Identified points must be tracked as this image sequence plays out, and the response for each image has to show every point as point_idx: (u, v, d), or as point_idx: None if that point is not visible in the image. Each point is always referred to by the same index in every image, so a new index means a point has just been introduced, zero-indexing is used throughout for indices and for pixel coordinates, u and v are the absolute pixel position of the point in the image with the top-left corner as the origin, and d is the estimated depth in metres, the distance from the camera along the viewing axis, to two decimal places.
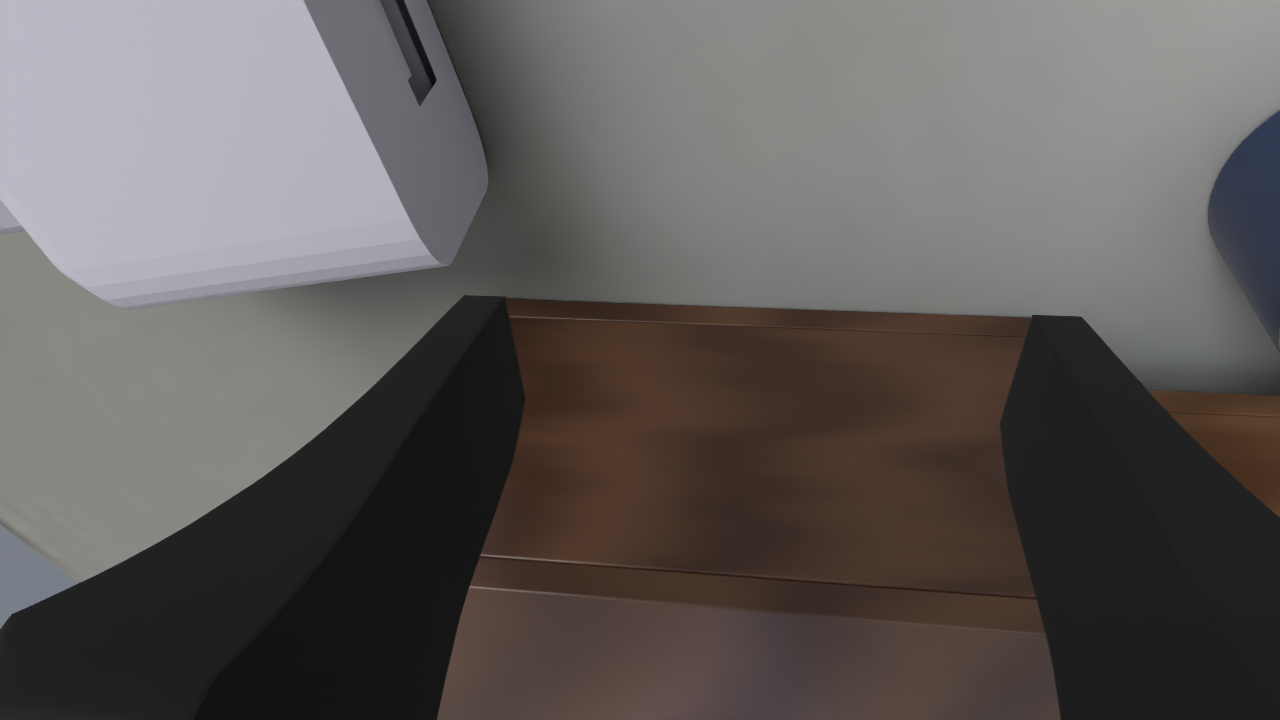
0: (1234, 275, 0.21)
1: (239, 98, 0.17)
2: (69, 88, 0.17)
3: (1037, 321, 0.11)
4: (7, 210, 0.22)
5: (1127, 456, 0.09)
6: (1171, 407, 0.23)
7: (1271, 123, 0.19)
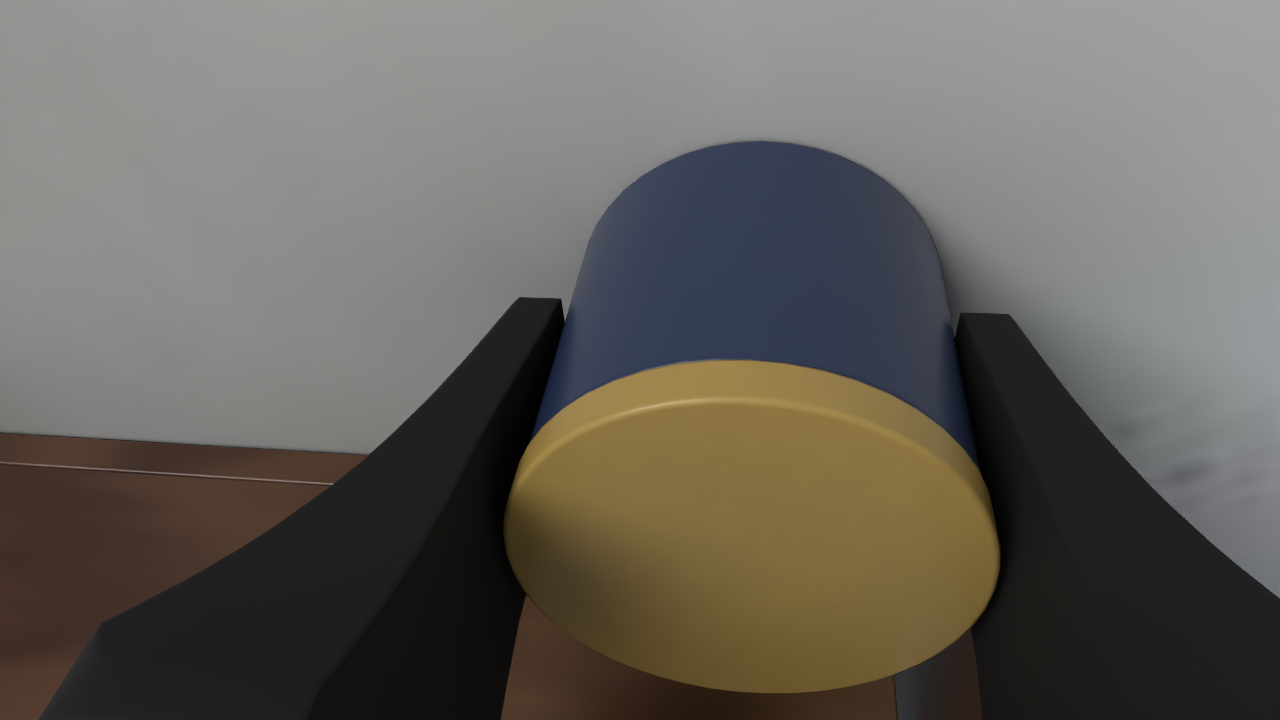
0: None
1: None
2: None
3: (964, 317, 0.11)
4: None
5: (1034, 451, 0.09)
6: None
7: (605, 215, 0.13)
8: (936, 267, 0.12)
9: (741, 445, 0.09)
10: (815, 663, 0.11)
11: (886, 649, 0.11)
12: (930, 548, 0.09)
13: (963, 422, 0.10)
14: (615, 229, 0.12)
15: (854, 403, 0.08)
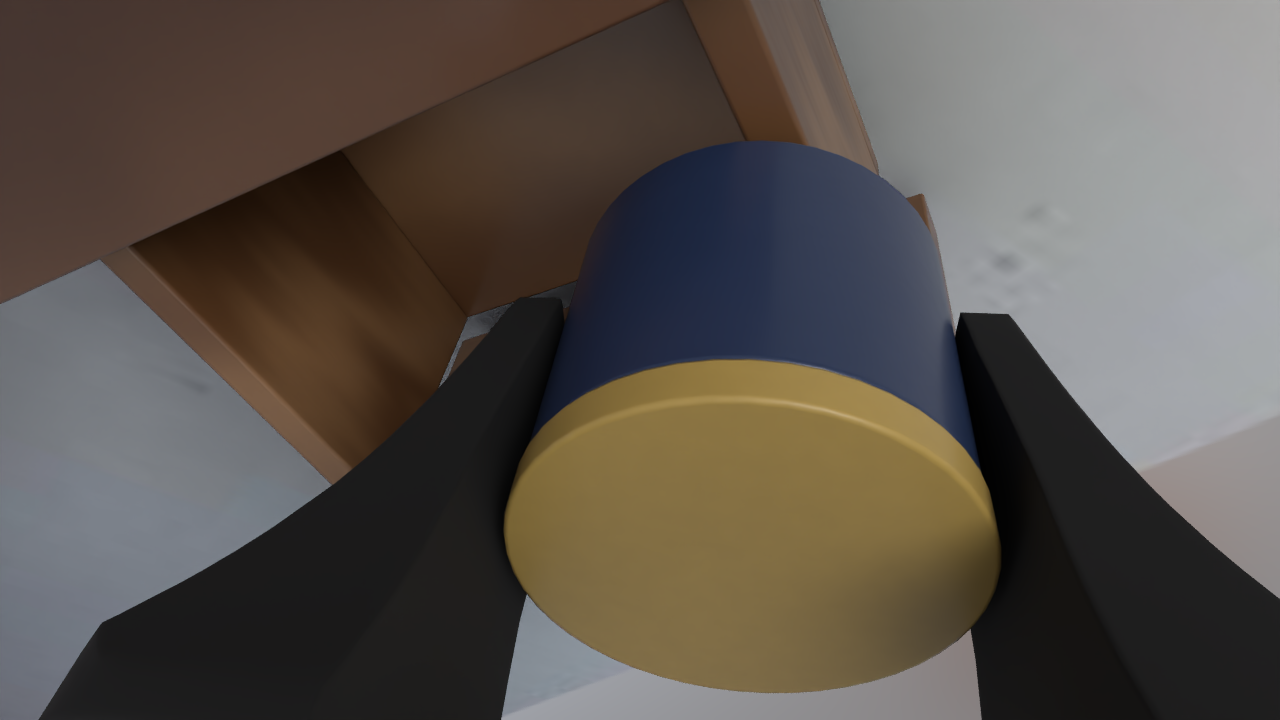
0: None
1: None
2: None
3: (964, 317, 0.12)
4: None
5: (1034, 451, 0.09)
6: None
7: (606, 215, 0.13)
8: (937, 267, 0.12)
9: (742, 444, 0.09)
10: (815, 663, 0.11)
11: (887, 649, 0.11)
12: (931, 548, 0.09)
13: (963, 421, 0.10)
14: (616, 229, 0.12)
15: (855, 402, 0.08)
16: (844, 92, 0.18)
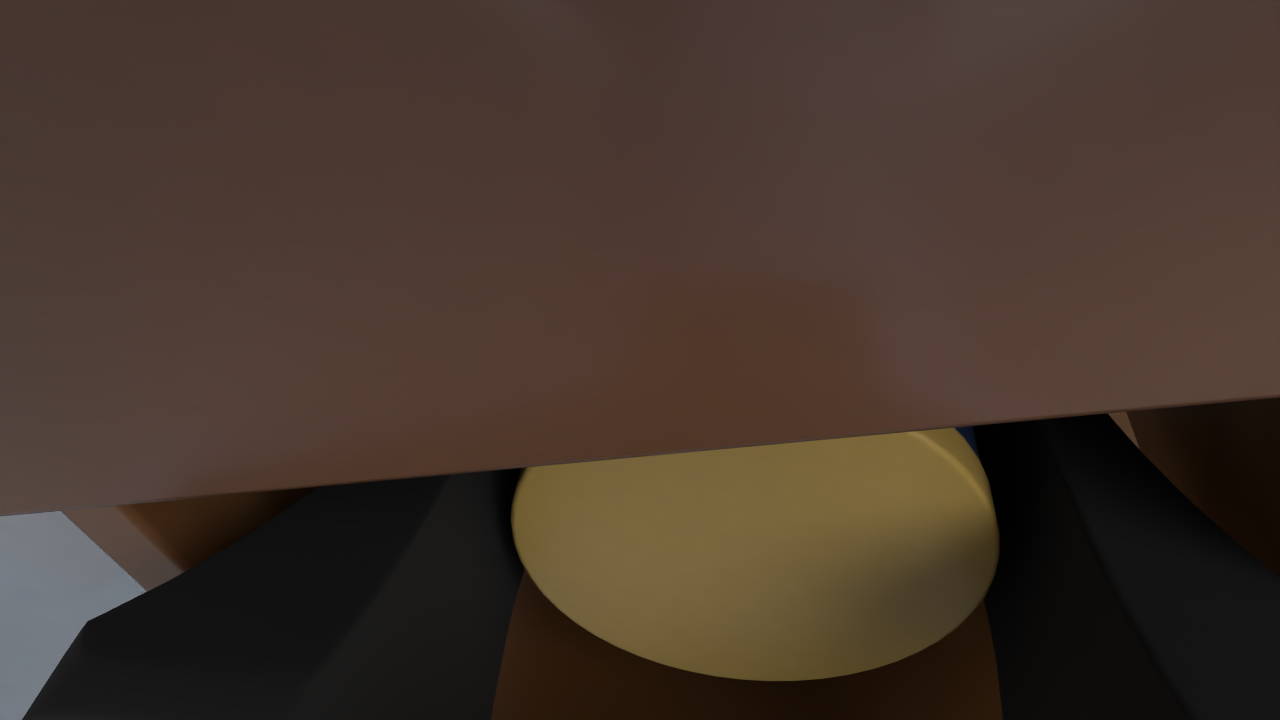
0: None
1: None
2: None
3: None
4: None
5: (1059, 452, 0.09)
6: None
7: None
8: None
9: None
10: (817, 651, 0.11)
11: (887, 636, 0.11)
12: (931, 535, 0.10)
13: None
14: None
15: None
16: None
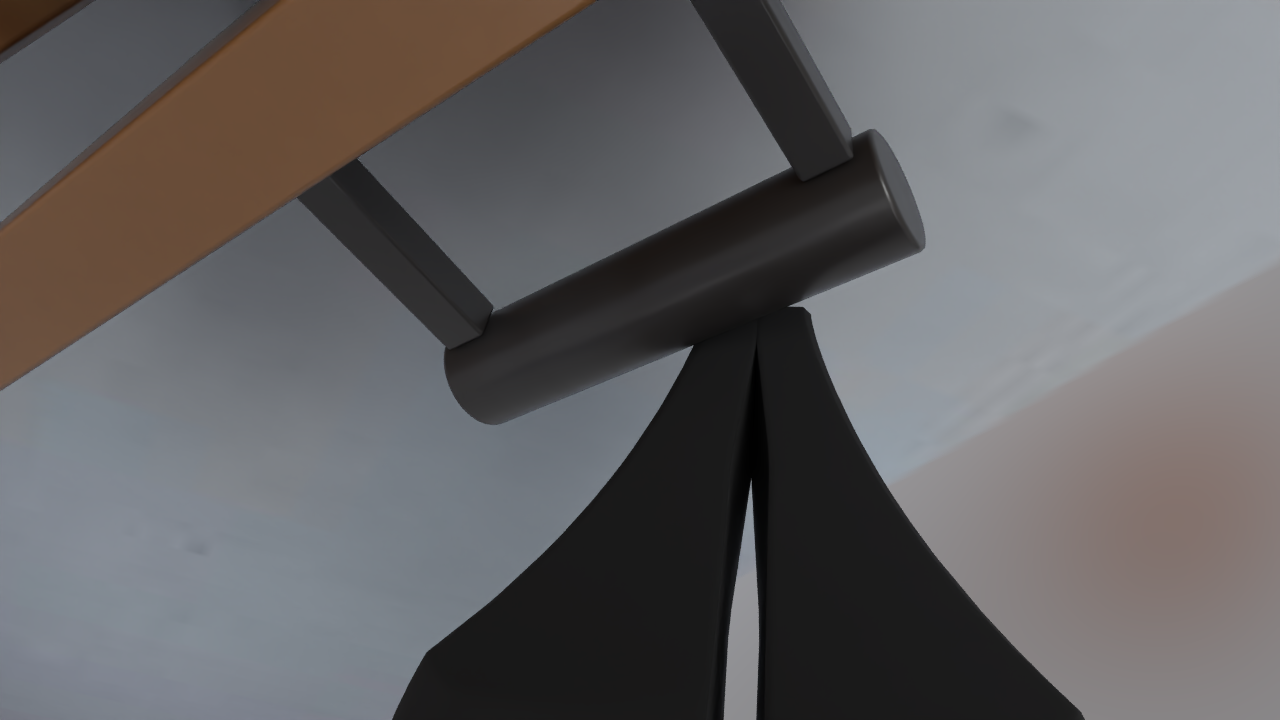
0: None
1: None
2: None
3: None
4: None
5: (775, 437, 0.09)
6: None
7: None
8: None
9: None
10: None
11: None
12: None
13: None
14: None
15: None
16: None
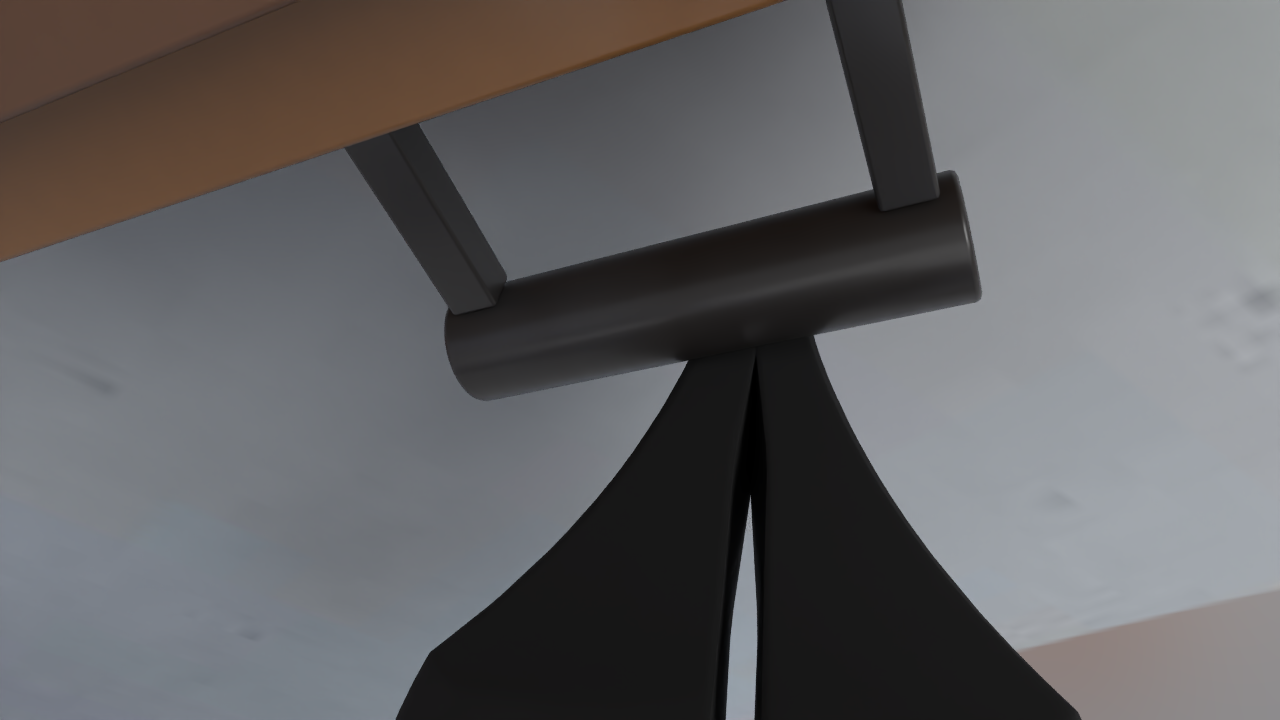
0: None
1: None
2: None
3: None
4: None
5: (772, 437, 0.09)
6: None
7: None
8: None
9: None
10: None
11: None
12: None
13: None
14: None
15: None
16: None
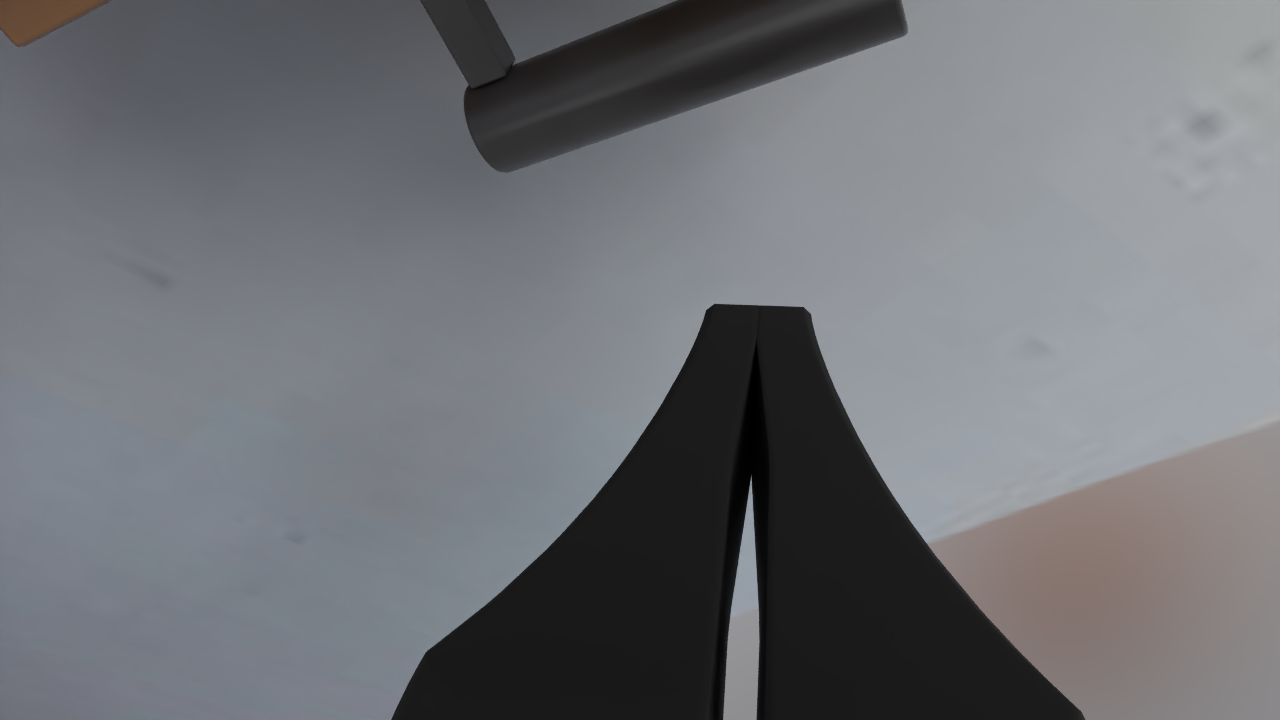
0: None
1: None
2: None
3: (758, 310, 0.12)
4: None
5: (775, 437, 0.09)
6: None
7: None
8: None
9: None
10: None
11: None
12: None
13: None
14: None
15: None
16: None
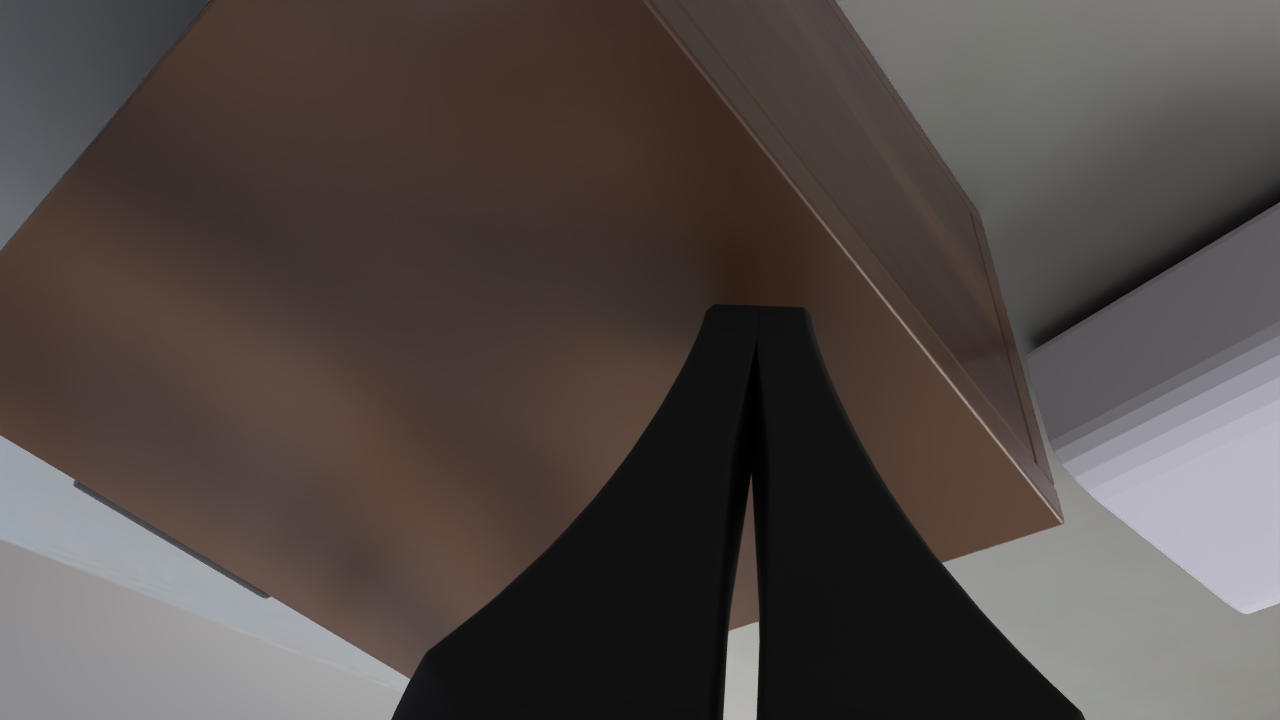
0: None
1: (1258, 523, 0.22)
2: None
3: (758, 310, 0.12)
4: None
5: (775, 437, 0.09)
6: None
7: None
8: None
9: None
10: None
11: None
12: None
13: None
14: None
15: None
16: None
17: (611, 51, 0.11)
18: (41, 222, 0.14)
